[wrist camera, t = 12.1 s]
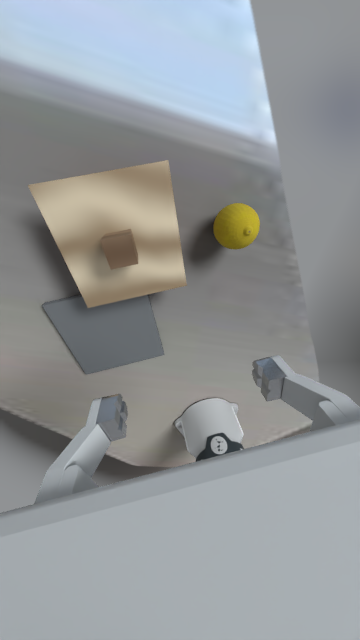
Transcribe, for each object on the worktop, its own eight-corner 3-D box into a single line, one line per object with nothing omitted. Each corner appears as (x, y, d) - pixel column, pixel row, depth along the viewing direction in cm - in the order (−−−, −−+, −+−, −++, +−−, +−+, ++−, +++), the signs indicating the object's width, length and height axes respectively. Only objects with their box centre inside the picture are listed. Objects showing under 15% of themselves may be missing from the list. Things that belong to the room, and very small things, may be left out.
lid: (185, 283, 28) (193, 297, 24) (88, 305, 27) (81, 323, 23) (167, 161, 20) (174, 152, 17) (30, 185, 19) (4, 182, 15)
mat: (163, 351, 41) (164, 354, 40) (87, 370, 39) (86, 374, 39) (143, 280, 32) (144, 282, 31) (44, 302, 31) (41, 305, 30)
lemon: (201, 237, 30) (219, 248, 23) (215, 196, 27) (240, 196, 21) (231, 247, 32) (256, 260, 25) (247, 210, 29) (280, 214, 22)
